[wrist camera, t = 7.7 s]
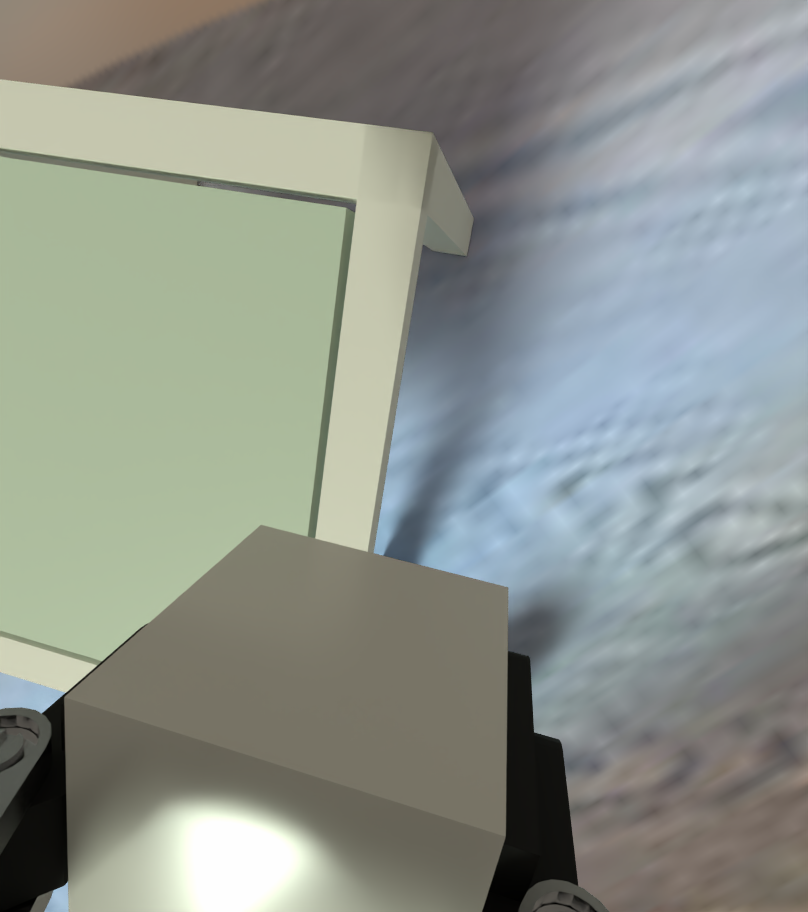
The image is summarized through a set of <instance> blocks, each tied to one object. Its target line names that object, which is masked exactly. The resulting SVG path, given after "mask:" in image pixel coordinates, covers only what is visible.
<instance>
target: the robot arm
mask: <svg viewBox="0 0 808 912" xmlns="http://www.w3.org/2000/svg"><path fill="white" fill-rule="evenodd" d="M146 625H147V624H145V625H144V626H142V627H141V628H140V629H139V630H137V631H136V632H135V633H134V634H133V635H132V636H130V637H129V638H128V639H127V640H126V641H125V642H124V643H122V644H121V645H120V646H119V647H118V648H117V649H116V650H114V651H113V652H112V653H111V654H110V655H109V656H108V657H106V658H105V659H104V660H103V661H102V662H101V663H99V664H98V665H97V666H96V667H95V668H94V669H93V670H91V671H90V672H89V673H88V674H87V675H86V676H85V677H83V678H82V679H81V680H80V681H79V682H78V683H77V684H75V685H74V686H73V687H72V688H71V689H70V690H69V691H67V692H66V693H65V694H64V695H63V696H62V697H60V698H59V699H58V700H57V701H56V702H55V703H54V704H52V705H51V706H50V707H49V708H48V709H47V710H46V711H44V712H43V713H42V714H41V713H40V712H38V711H36V710H32V709H27V708H5V709H1V710H0V912H44V911H45V909H46V907H47V905H48V902H49V900H50V898H51V896H52V893H53V890H55V889H57V888H60V887H62V886H64V885H65V884H66V883H67V881H68V850H67V802H66V755H65V707H64V697H65V696H66V695H67V694H68V693H70V692H71V691H72V690H73V689H74V688H75V687H76V686H78V685H79V684H80V683H81V682H82V681H83V680H84V679H86V678H87V677H88V676H89V675H90V674H91V673H92V672H94V671H95V670H96V669H97V668H98V667H99V666H100V665H102V664H103V663H104V662H105V661H106V660H107V659H108V658H110V657H111V656H112V655H113V654H114V653H115V652H116V651H117V650H119V649H120V648H121V647H122V646H123V645H124V644H125V643H127V642H128V641H129V640H130V639H131V638H132V637H133V636H135V635H136V634H137V633H138V632H139V631H140V630H141V629H143V628H144V627H145V626H146ZM482 912H609V911H608V910H607V909H606V907H605V906H604V905H603V904H602V903H601V902H600V901H599V900H598V899H597V898H595V897H594V896H593V895H591V894H590V893H589V892H587V891H586V890H585V889H583V888H581V887H579V886H578V879H577V871H576V862H575V853H574V844H573V836H572V827H571V818H570V810H569V801H568V792H567V783H566V775H565V766H564V757H563V749H562V744H561V742H560V740H558V739H555V738H552V737H548V736H545V735H541V734H538V733H534V725H533V705H532V686H531V667H530V657H529V656H525V655H521V654H518V653H514V652H510V651H508V665H507V762H506V837H505V841H504V844H503V847H502V850H501V853H500V856H499V860H498V863H497V866H496V869H495V872H494V875H493V879H492V882H491V885H490V888H489V891H488V894H487V898H486V901H485V904H484V907H483V910H482Z"/></svg>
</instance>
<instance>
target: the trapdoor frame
mask: <svg viewBox="0 0 808 912" xmlns="http://www.w3.org/2000/svg"><path fill="white" fill-rule="evenodd" d="M0 157H6V158H12V159H19V160H26V161H33V162H40V163H46V164H53V165H60V166H67V167H74V168H80V169H87V170H94V171H101V172H107V173H114V174H121V175H128V176H135V177H141V178H148V179H155V180H162V181H168V182H175V183H182V184H189V185H196V186H197V181H202V182H209V183H216V184H222V185H229V186H236V187H243V188H250V189H257V190H264V191H270V192H277V193H284V194H291V195H298V196H305V197H312V198H318V199H325V200H332V201H339V202H346V203H353V204H356V211H355V220H354V228H353V236H352V244H351V252H350V260H349V268H348V277H347V285H346V293H345V301H344V309H343V317H342V325H341V333H340V342H339V350H338V358H337V366H336V374H335V382H334V390H333V399H332V407H331V415H330V423H329V431H328V439H327V447H326V456H325V464H324V472H323V480H322V488H321V496H320V504H319V513H318V521H317V529H316V537H315V539H319V540H323V541H327V542H331V543H335V544H339V545H343V546H347V547H351V548H355V549H358V550H362V551H366V552H370V553H374V547H375V540H376V534H377V528H378V522H379V515H380V509H381V503H382V497H383V490H384V484H385V478H386V472H387V465H388V459H389V453H390V447H391V440H392V434H393V428H394V421H395V415H396V409H397V403H398V396H399V390H400V384H401V378H402V371H403V365H404V359H405V353H406V346H407V340H408V334H409V328H410V321H411V315H412V309H413V302H414V296H415V290H416V284H417V277H418V271H419V265H420V259H421V252H422V246H423V244H424V245H425V246H426V247H428V248H429V249H431V250H432V251H437V252H443V253H449V254H456V255H462V256H467V253H468V248H469V243H470V237H471V232H472V226H473V221H474V218H473V216H472V214H471V212H470V209H469V207H468V205H467V203H466V201H465V199H464V197H463V195H462V193H461V191H460V188H459V186H458V184H457V182H456V180H455V178H454V176H453V174H452V172H451V169H450V167H449V165H448V163H447V161H446V159H445V157H444V155H443V153H442V151H441V148H440V146H439V144H438V142H437V140H436V138H435V136H434V134H433V132H425V131H417V130H409V129H400V128H392V127H384V126H376V125H368V124H360V123H352V122H343V121H335V120H327V119H319V118H311V117H303V116H295V115H286V114H278V113H270V112H262V111H254V110H246V109H238V108H229V107H221V106H213V105H205V104H197V103H189V102H180V101H172V100H164V99H156V98H148V97H140V96H132V95H123V94H115V93H107V92H99V91H91V90H83V89H75V88H66V87H58V86H50V85H42V84H34V83H25V82H17V81H9V80H1V79H0ZM101 662H102V661H100V660H97V659H93V658H90V657H87V656H83V655H80V654H76V653H73V652H70V651H66V650H63V649H60V648H56V647H53V646H50V645H46V644H43V643H40V642H36V641H33V640H30V639H26V638H23V637H20V636H16V635H13V634H10V633H6V632H3V631H0V672H2V673H5V674H8V675H11V676H15V677H18V678H21V679H24V680H27V681H31V682H34V683H37V684H40V685H44V686H47V687H50V688H53V689H56V690H60V691H63V692H67V691H69V690H70V689H71V688H72V687H73V686H74V685H75V684H77V683H78V682H79V681H80V680H81V679H82V678H83V677H85V676H86V675H87V674H88V673H89V672H90V671H91V670H93V669H94V668H95V667H96V666H97V665H98V664H99V663H101Z"/></svg>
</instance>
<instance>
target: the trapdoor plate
mask: <svg viewBox="0 0 808 912" xmlns="http://www.w3.org/2000/svg"><path fill="white" fill-rule="evenodd" d="M354 220H355V213H354V212H353V211H351V210H349V209H348V208H345V207H338V206H331V205H324V204H318V203H311V202H304V201H297V200H291V199H284V198H277V197H270V196H263V195H257V194H250V193H243V192H236V191H230V190H223V189H216V188H209V187H202V186H196V185H189V184H182V183H175V182H168V181H162V180H155V179H148V178H141V177H135V176H128V175H121V174H114V173H107V172H101V171H94V170H87V169H80V168H74V167H67V166H60V165H53V164H46V163H40V162H33V161H26V160H19V159H12V158H6V157H0V631H3V632H6V633H10V634H13V635H16V636H20V637H23V638H26V639H30V640H33V641H36V642H40V643H43V644H46V645H50V646H53V647H56V648H60V649H63V650H66V651H70V652H73V653H76V654H80V655H83V656H87V657H90V658H93V659H97V660H100V661H103V660H104V659H105V658H106V657H108V656H109V655H110V654H111V653H112V652H113V651H114V650H116V649H117V648H118V647H119V646H120V645H121V644H122V643H124V642H125V641H126V640H127V639H128V638H129V637H130V636H132V635H133V634H134V633H135V632H136V631H137V630H139V629H140V628H141V627H142V626H144V625H145V624H148V623H149V622H151V621H152V620H153V619H154V618H155V617H156V616H157V615H159V614H160V613H161V612H162V611H163V610H164V609H165V608H167V607H168V606H169V605H170V604H171V603H172V602H173V601H175V600H176V599H177V598H178V597H179V596H180V595H181V594H182V593H184V592H185V591H186V590H187V589H188V588H189V587H190V586H192V585H193V584H194V583H195V582H196V581H197V580H198V579H200V578H201V577H202V576H203V575H204V574H205V573H206V572H208V571H209V570H210V569H211V568H212V567H213V566H214V565H216V564H217V563H218V562H219V561H220V560H221V559H222V558H224V557H225V556H226V555H227V554H228V553H229V552H230V551H232V550H233V549H234V548H235V547H236V546H237V545H238V544H240V543H241V542H242V541H243V540H244V539H245V538H246V537H247V536H249V535H250V534H251V533H252V532H253V531H254V530H255V529H257V528H258V527H259V526H260V525H264V526H268V527H272V528H276V529H280V530H284V531H288V532H292V533H296V534H299V535H303V536H307V537H311V538H315V537H316V529H317V521H318V513H319V504H320V496H321V488H322V480H323V472H324V464H325V456H326V447H327V439H328V431H329V423H330V415H331V407H332V399H333V390H334V382H335V374H336V366H337V358H338V350H339V342H340V333H341V325H342V317H343V309H344V301H345V293H346V285H347V277H348V268H349V260H350V252H351V244H352V236H353V228H354Z"/></svg>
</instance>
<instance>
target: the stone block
mask: <svg viewBox="0 0 808 912" xmlns="http://www.w3.org/2000/svg"><path fill="white" fill-rule="evenodd" d="M507 665H508V587H504V586H500V585H496V584H492V583H488V582H484V581H481V580H477V579H473V578H469V577H465V576H461V575H457V574H453V573H449V572H445V571H441V570H437V569H433V568H429V567H425V566H421V565H418V564H414V563H410V562H406V561H402V560H398V559H394V558H390V557H386V556H382V555H378V554H374V553H370V552H366V551H362V550H358V549H355V548H351V547H347V546H343V545H339V544H335V543H331V542H327V541H323V540H319V539H315V538H311V537H307V536H303V535H299V534H296V533H292V532H288V531H284V530H280V529H276V528H272V527H268V526H264V525H260V526H259V527H258V528H257V529H255V530H254V531H253V532H252V533H251V534H250V535H249V536H247V537H246V538H245V539H244V540H243V541H242V542H241V543H240V544H238V545H237V546H236V547H235V548H234V549H233V550H232V551H230V552H229V553H228V554H227V555H226V556H225V557H224V558H222V559H221V560H220V561H219V562H218V563H217V564H216V565H214V566H213V567H212V568H211V569H210V570H209V571H208V572H206V573H205V574H204V575H203V576H202V577H201V578H200V579H198V580H197V581H196V582H195V583H194V584H193V585H192V586H190V587H189V588H188V589H187V590H186V591H185V592H184V593H182V594H181V595H180V596H179V597H178V598H177V599H176V600H175V601H173V602H172V603H171V604H170V605H169V606H168V607H167V608H165V609H164V610H163V611H162V612H161V613H160V614H159V615H157V616H156V617H155V618H154V619H153V620H152V621H151V622H149V623H148V624H147V625H146V626H145V627H144V628H143V629H141V630H140V631H139V632H138V633H137V634H136V635H135V636H133V637H132V638H131V639H130V640H129V641H128V642H127V643H125V644H124V645H123V646H122V647H121V648H120V649H119V650H117V651H116V652H115V653H114V654H113V655H112V656H111V657H110V658H108V659H107V660H106V661H105V662H104V663H103V664H102V665H100V666H99V667H98V668H97V669H96V670H95V671H94V672H92V673H91V674H90V675H89V676H88V677H87V678H86V679H84V680H83V681H82V682H81V683H80V684H79V685H78V686H76V687H75V688H74V689H73V690H72V691H71V692H70V693H68V694H67V695H66V696H65V697H64V707H65V755H66V802H67V850H68V898H69V912H482V910H483V907H484V904H485V901H486V898H487V894H488V891H489V888H490V885H491V882H492V879H493V875H494V872H495V869H496V866H497V863H498V860H499V856H500V853H501V850H502V847H503V844H504V841H505V837H506V762H507Z"/></svg>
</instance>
